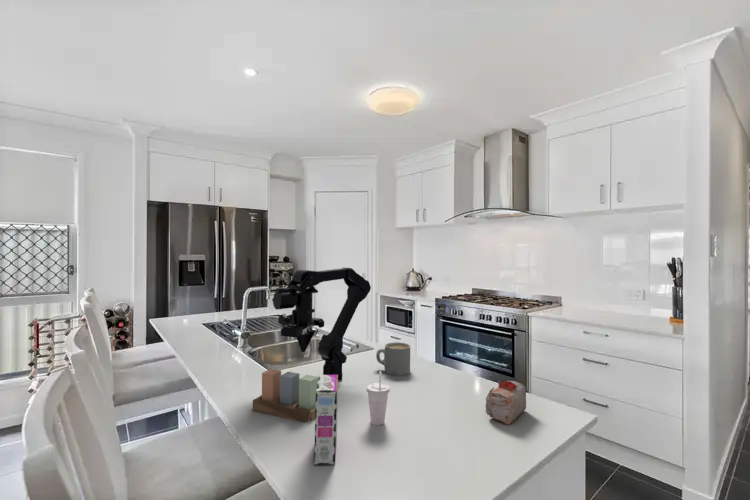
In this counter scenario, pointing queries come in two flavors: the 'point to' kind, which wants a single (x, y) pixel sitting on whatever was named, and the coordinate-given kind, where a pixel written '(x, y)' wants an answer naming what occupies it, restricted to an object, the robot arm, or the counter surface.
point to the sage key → (307, 392)
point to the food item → (506, 401)
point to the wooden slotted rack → (283, 410)
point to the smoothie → (377, 401)
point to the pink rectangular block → (271, 385)
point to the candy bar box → (326, 420)
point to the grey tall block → (289, 388)
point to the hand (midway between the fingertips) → (303, 351)
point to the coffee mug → (395, 358)
